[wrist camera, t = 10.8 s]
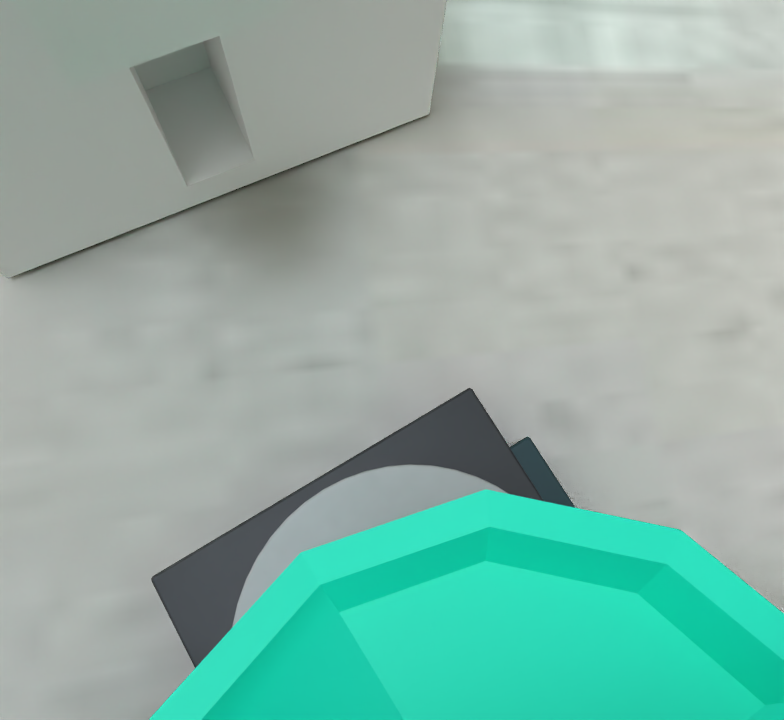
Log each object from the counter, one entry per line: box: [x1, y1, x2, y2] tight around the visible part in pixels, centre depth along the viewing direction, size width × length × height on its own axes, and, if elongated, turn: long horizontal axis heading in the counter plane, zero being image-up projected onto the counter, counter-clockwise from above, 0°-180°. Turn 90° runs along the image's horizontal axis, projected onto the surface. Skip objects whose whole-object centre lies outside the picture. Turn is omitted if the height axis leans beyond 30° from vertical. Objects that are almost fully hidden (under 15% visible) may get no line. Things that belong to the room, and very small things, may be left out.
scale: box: [151, 388, 575, 668], centre depth 19 cm, size 11×10×3 cm
